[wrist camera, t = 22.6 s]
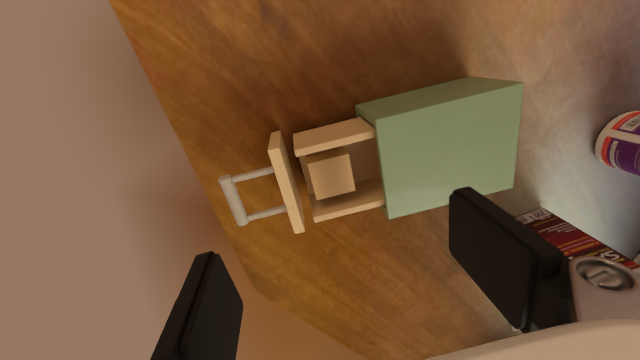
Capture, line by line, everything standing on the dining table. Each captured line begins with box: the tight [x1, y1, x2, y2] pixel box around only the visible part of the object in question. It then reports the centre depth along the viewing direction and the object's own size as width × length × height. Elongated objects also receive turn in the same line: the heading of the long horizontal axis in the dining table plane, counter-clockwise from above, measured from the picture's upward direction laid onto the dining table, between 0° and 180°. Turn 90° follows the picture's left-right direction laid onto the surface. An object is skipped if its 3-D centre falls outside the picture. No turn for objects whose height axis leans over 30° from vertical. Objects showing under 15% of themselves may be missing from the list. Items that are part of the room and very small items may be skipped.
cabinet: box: [355, 76, 524, 219], centre depth 32 cm, size 15×12×9 cm
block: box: [305, 146, 355, 200], centre depth 32 cm, size 5×5×5 cm
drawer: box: [218, 117, 385, 234], centre depth 32 cm, size 20×10×7 cm, turn 103°
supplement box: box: [516, 208, 640, 277], centre depth 37 cm, size 9×5×16 cm, turn 111°
